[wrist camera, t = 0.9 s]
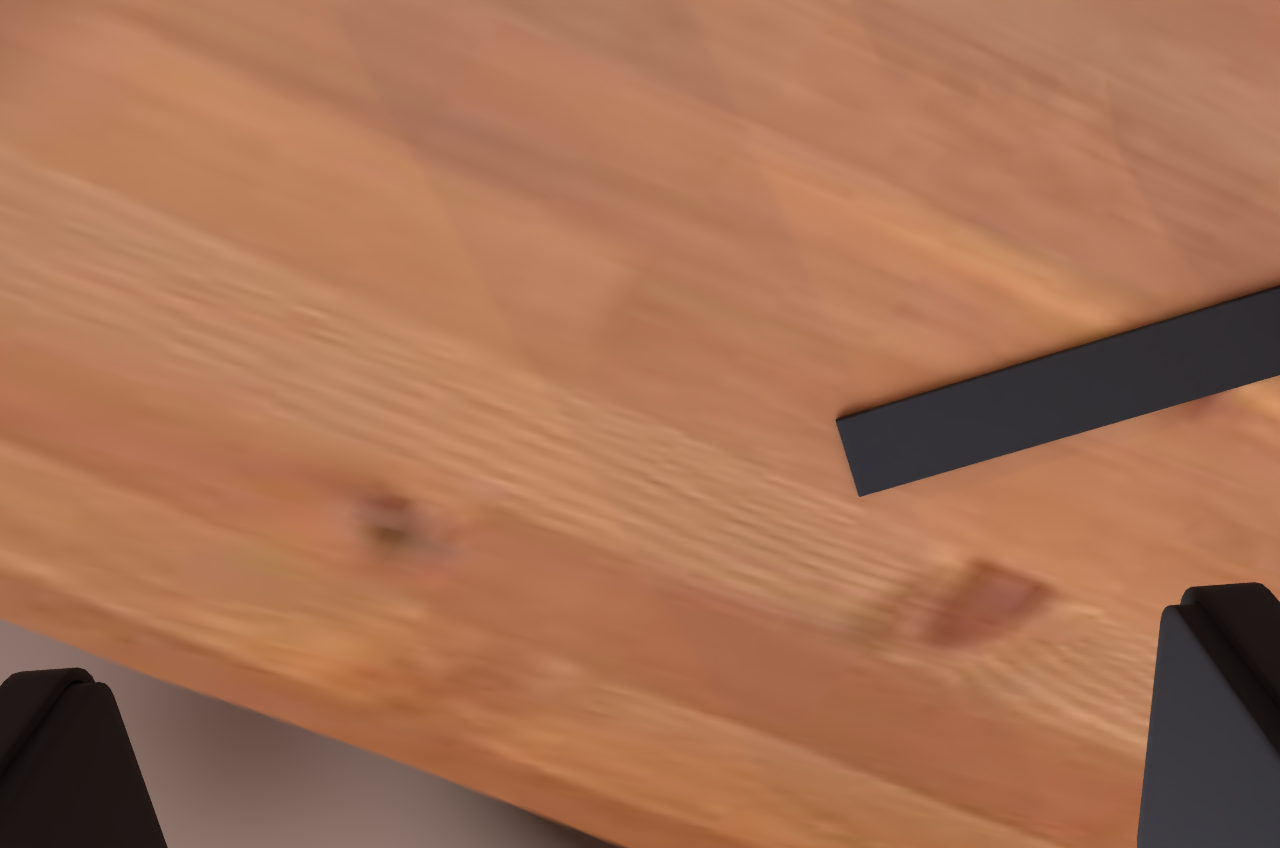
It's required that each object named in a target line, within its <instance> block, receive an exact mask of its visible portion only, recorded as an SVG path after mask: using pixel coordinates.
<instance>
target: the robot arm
mask: <svg viewBox="0 0 1280 848" xmlns="http://www.w3.org/2000/svg"><path fill="white" fill-rule="evenodd" d="M0 848H167V845H166V842H165V839H164V836H163V834H162V830H161V828H160V825H159V822H158V819H157V816H156V814H155V811H154V808H153V805H152V802H151V799H150V797H149V794H148V791H147V788H146V785H145V782H144V779H143V777H142V774H141V771H140V768H139V765H138V763H137V760H136V757H135V754H134V751H133V749H132V746H131V743H130V740H129V737H128V734H127V731H126V728H125V726H124V723H123V720H122V717H121V714H120V712H119V709H118V706H117V703H116V700H115V698H114V695H113V693H112V691H111V689H110V688H109V687H108V686H107V685H106V684H105V683H101V682H95V681H94V679H93V677H92V676H91V675H90V674H89V673H88V672H87V671H86V670H85V669H81V668H65V669H50V670H36V671H23V672H18V673H15V674H12V675H11V676H10V677H9V678H8V679H6V680H5V681H4V682H3V683H2V685H1V686H0ZM1137 848H1280V602H1279V601H1278V600H1277V598H1276V597H1275V596H1274V595H1273V594H1272V593H1271V591H1270V590H1269V589H1267V588H1266V587H1265V586H1264V585H1263V584H1260V583H1255V582H1252V583H1238V584H1225V585H1211V586H1197V587H1190V588H1189V589H1187V590H1186V591H1185V593H1184V595H1183V596H1182V599H1181V604H1180V605H1169V606H1167V607H1166V608H1165V609H1164V611H1163V613H1162V617H1161V621H1160V631H1159V640H1158V649H1157V659H1156V668H1155V677H1154V687H1153V696H1152V705H1151V715H1150V724H1149V733H1148V743H1147V752H1146V761H1145V771H1144V780H1143V789H1142V799H1141V808H1140V817H1139V826H1138V836H1137Z"/></svg>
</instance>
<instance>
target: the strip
mask: <svg viewBox="0 0 1280 848" xmlns="http://www.w3.org/2000/svg"><path fill="white" fill-rule="evenodd" d="M1278 375H1280V285H1279V286H1276V287H1273V288H1269V289H1266V290H1263V291H1259V292H1256V293H1253V294H1249V295H1246V296H1243V297H1239V298H1236V299H1233V300H1230V301H1226V302H1223V303H1220V304H1216V305H1213V306H1210V307H1206V308H1203V309H1200V310H1196V311H1193V312H1190V313H1186V314H1183V315H1180V316H1176V317H1173V318H1170V319H1167V320H1163V321H1160V322H1157V323H1153V324H1150V325H1147V326H1143V327H1140V328H1137V329H1133V330H1130V331H1127V332H1123V333H1120V334H1117V335H1114V336H1110V337H1107V338H1104V339H1100V340H1097V341H1094V342H1090V343H1087V344H1084V345H1080V346H1077V347H1074V348H1070V349H1067V350H1064V351H1060V352H1057V353H1054V354H1051V355H1047V356H1044V357H1041V358H1037V359H1034V360H1031V361H1027V362H1024V363H1021V364H1017V365H1014V366H1011V367H1007V368H1004V369H1001V370H997V371H994V372H991V373H988V374H984V375H981V376H978V377H974V378H971V379H968V380H964V381H961V382H958V383H954V384H951V385H948V386H944V387H941V388H938V389H935V390H931V391H928V392H925V393H921V394H918V395H915V396H911V397H908V398H905V399H901V400H898V401H895V402H891V403H888V404H885V405H881V406H878V407H875V408H872V409H868V410H865V411H862V412H858V413H855V414H852V415H848V416H845V417H842V418H838V419H836V423H837V426H838V430H839V433H840V436H841V439H842V443H843V446H844V449H845V452H846V456H847V459H848V462H849V465H850V469H851V472H852V475H853V478H854V482H855V485H856V488H857V492H858V495H859V497H861V496H864V495H868V494H871V493H875V492H878V491H882V490H885V489H889V488H892V487H895V486H899V485H902V484H906V483H909V482H913V481H916V480H920V479H923V478H926V477H930V476H933V475H937V474H940V473H944V472H947V471H951V470H954V469H957V468H961V467H964V466H968V465H971V464H975V463H978V462H982V461H985V460H988V459H992V458H995V457H999V456H1002V455H1006V454H1009V453H1013V452H1016V451H1019V450H1023V449H1026V448H1030V447H1033V446H1037V445H1040V444H1044V443H1047V442H1050V441H1054V440H1057V439H1061V438H1064V437H1068V436H1071V435H1075V434H1078V433H1081V432H1085V431H1088V430H1092V429H1095V428H1099V427H1102V426H1106V425H1109V424H1112V423H1116V422H1119V421H1123V420H1126V419H1130V418H1133V417H1137V416H1140V415H1143V414H1147V413H1150V412H1154V411H1157V410H1161V409H1164V408H1168V407H1171V406H1174V405H1178V404H1181V403H1185V402H1188V401H1192V400H1195V399H1199V398H1202V397H1205V396H1209V395H1212V394H1216V393H1219V392H1223V391H1226V390H1230V389H1233V388H1237V387H1240V386H1243V385H1247V384H1250V383H1254V382H1257V381H1261V380H1264V379H1268V378H1271V377H1274V376H1278Z"/></svg>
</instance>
